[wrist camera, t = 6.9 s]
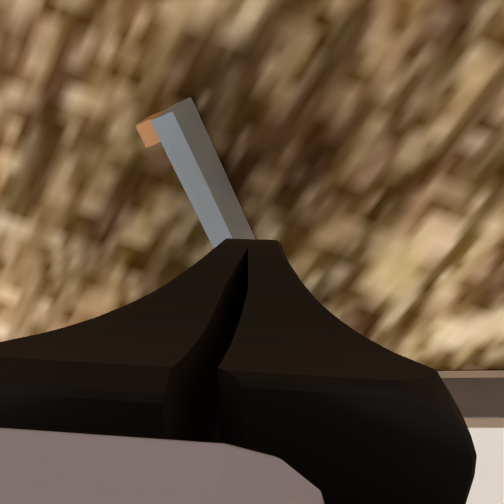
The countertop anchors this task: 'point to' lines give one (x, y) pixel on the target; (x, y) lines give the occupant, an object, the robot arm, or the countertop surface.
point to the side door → (197, 169)
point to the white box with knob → (482, 428)
